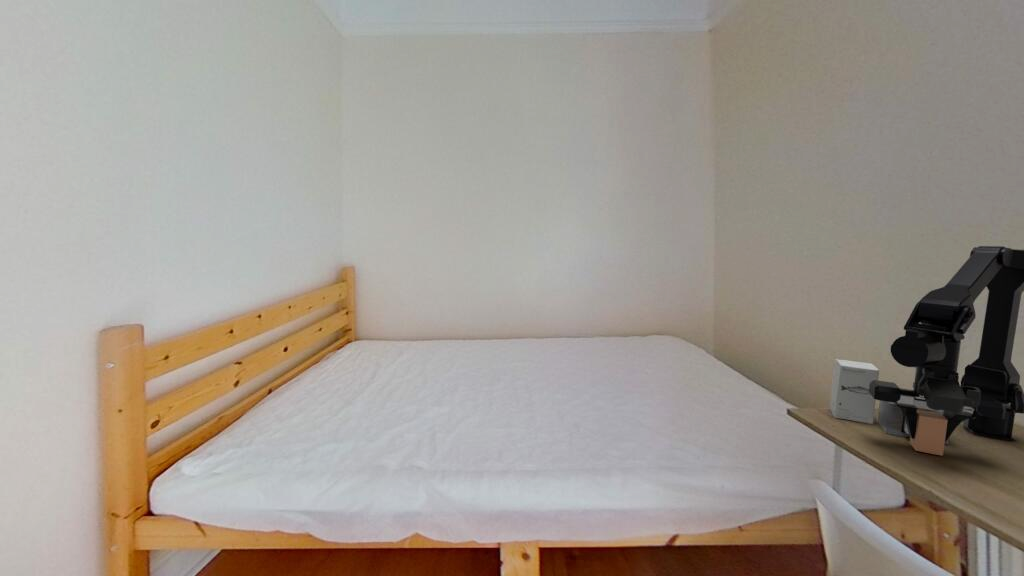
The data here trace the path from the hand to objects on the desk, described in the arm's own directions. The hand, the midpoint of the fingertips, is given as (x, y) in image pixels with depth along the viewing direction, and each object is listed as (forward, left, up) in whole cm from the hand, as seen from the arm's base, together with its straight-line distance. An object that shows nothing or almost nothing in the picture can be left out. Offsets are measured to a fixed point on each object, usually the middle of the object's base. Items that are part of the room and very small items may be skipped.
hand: (926, 440), depth 89 cm
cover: (0, -4, -2) cm, 5 cm away
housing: (0, -10, -2) cm, 11 cm away
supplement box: (+10, -14, -2) cm, 18 cm away
